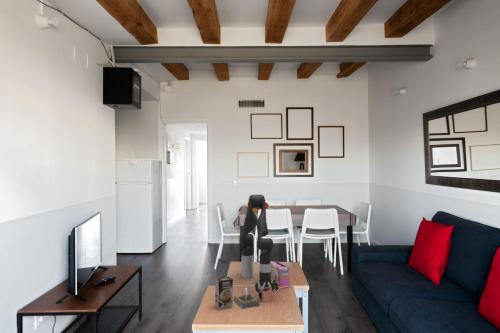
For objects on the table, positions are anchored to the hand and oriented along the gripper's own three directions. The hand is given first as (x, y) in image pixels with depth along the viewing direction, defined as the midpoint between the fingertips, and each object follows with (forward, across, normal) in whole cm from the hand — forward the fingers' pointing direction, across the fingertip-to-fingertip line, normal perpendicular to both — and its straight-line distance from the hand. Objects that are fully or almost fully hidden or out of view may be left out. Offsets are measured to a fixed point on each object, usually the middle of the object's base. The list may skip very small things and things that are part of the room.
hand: (265, 297), depth 188 cm
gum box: (+1, -22, -24) cm, 33 cm away
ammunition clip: (+1, -11, -13) cm, 17 cm away
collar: (+1, 0, 0) cm, 1 cm away
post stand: (+1, +13, 0) cm, 13 cm away
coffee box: (+1, +27, -1) cm, 27 cm away
